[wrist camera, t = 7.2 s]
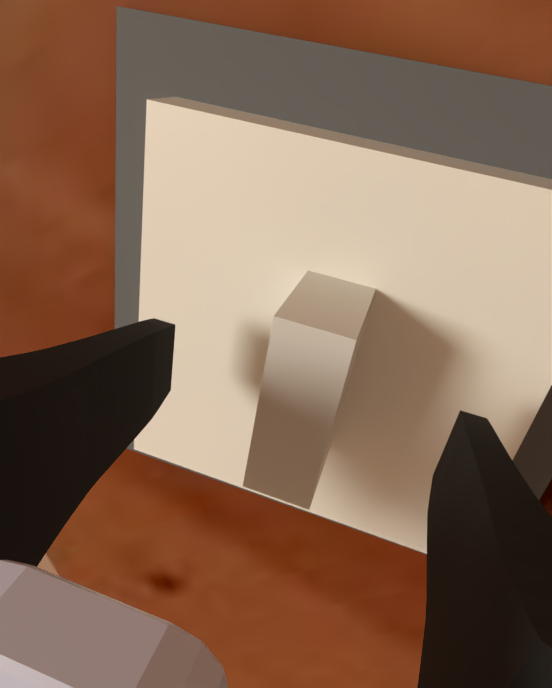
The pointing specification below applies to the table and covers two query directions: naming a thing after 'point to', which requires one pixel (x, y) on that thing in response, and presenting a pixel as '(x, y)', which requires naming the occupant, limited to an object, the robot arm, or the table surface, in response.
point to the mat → (321, 112)
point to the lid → (337, 309)
